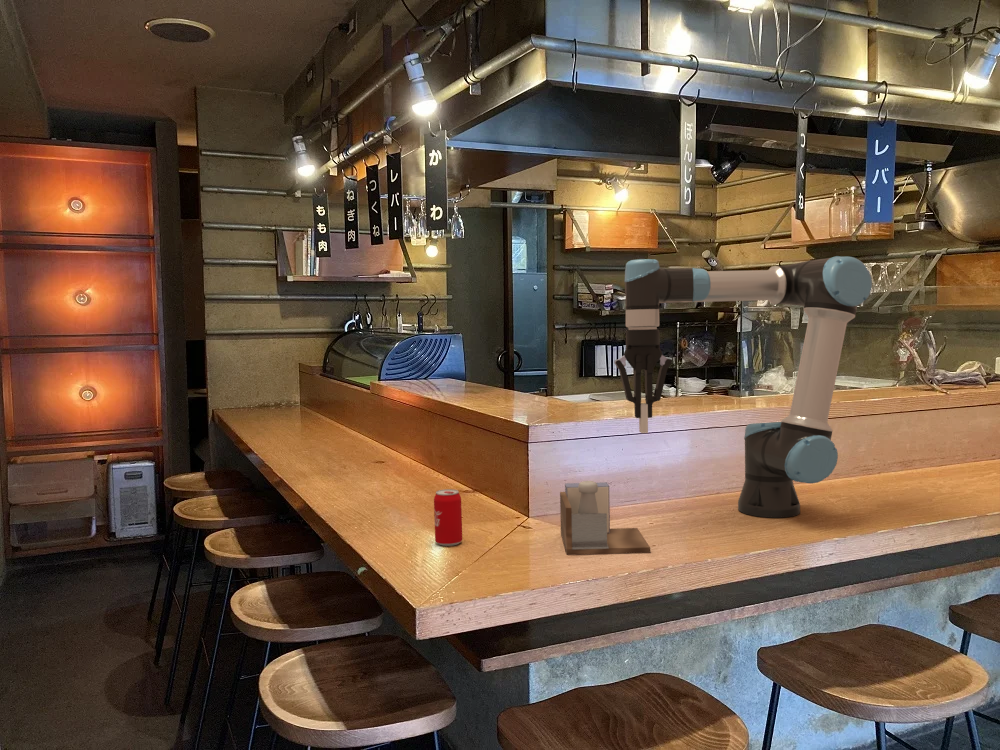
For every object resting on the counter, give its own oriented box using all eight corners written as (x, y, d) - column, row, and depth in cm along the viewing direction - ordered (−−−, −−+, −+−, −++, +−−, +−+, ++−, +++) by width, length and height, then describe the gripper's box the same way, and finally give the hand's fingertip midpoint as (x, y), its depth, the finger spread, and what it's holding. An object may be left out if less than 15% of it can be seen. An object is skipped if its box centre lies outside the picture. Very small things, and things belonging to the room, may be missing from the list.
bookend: (606, 544, 173) (606, 512, 173) (608, 548, 170) (608, 516, 169) (570, 545, 173) (570, 513, 173) (572, 549, 170) (571, 517, 169)
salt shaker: (580, 543, 174) (579, 485, 173) (572, 536, 180) (571, 480, 179) (605, 541, 175) (604, 483, 175) (596, 534, 181) (595, 478, 180)
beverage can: (448, 538, 186) (446, 487, 185) (468, 542, 182) (466, 490, 181) (429, 544, 181) (428, 492, 180) (449, 548, 177) (447, 495, 176)
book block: (607, 528, 186) (606, 482, 185) (610, 533, 182) (609, 486, 181) (565, 529, 186) (565, 483, 185) (567, 534, 182) (566, 487, 181)
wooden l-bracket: (637, 533, 186) (636, 490, 185) (650, 552, 170) (649, 506, 170) (560, 534, 186) (560, 491, 185) (566, 554, 170) (565, 507, 170)
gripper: (667, 327, 183) (668, 429, 184) (611, 329, 183) (612, 430, 184) (675, 328, 175) (675, 433, 177) (616, 329, 175) (617, 435, 177)
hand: (643, 432), depth 181 cm, fingers closed
